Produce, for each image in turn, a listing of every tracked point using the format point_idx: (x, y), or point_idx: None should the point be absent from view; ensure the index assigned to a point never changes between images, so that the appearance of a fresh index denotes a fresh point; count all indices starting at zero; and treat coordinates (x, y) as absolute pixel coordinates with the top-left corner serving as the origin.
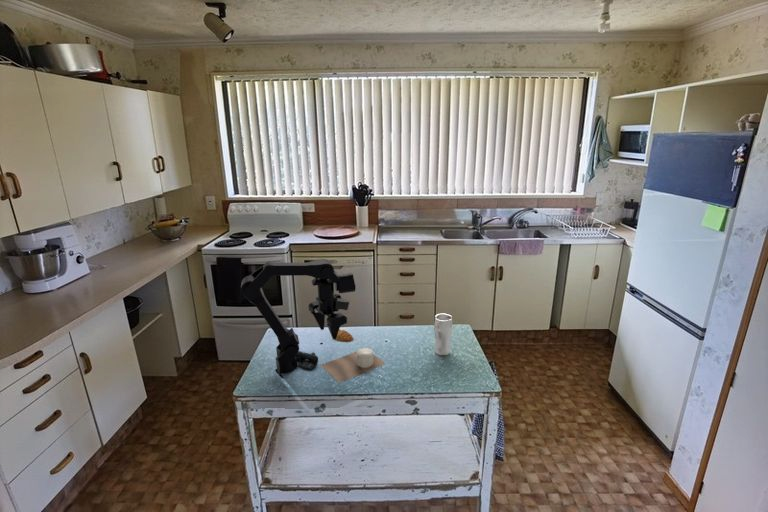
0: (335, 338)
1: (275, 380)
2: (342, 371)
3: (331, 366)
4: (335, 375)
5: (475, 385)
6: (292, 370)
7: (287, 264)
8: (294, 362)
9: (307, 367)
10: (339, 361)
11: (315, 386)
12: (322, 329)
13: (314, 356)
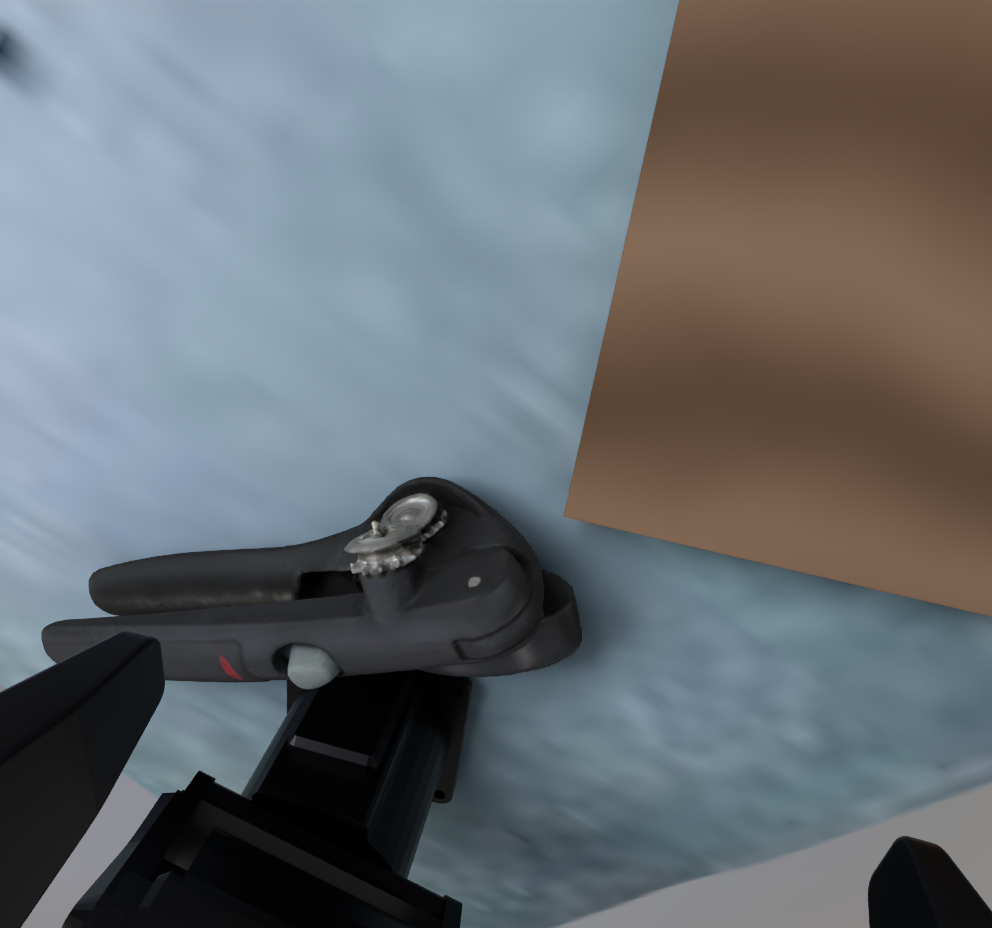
0: (940, 874)
1: (432, 820)
2: (968, 447)
3: (719, 454)
4: (936, 562)
5: None
6: (439, 741)
7: None
8: (394, 764)
9: (527, 670)
10: (719, 287)
11: (816, 732)
12: (157, 675)
13: (497, 647)
